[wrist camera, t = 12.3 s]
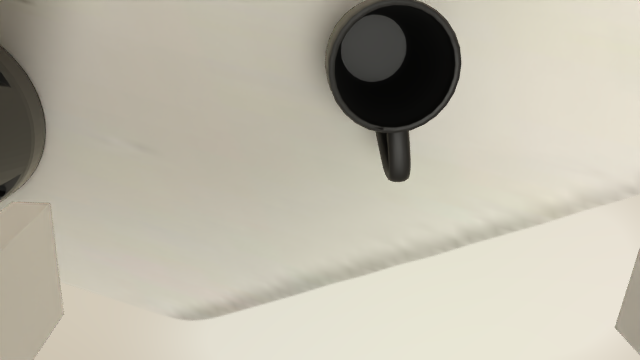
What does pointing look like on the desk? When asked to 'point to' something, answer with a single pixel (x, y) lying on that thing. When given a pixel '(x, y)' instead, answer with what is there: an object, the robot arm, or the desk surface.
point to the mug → (393, 72)
